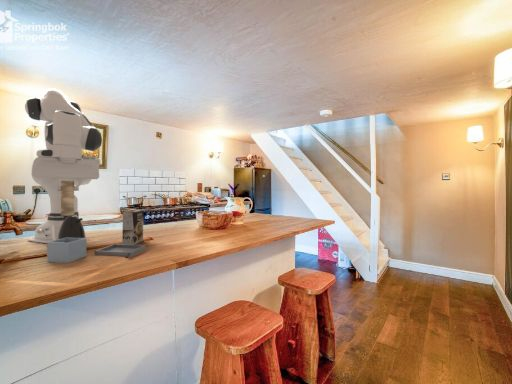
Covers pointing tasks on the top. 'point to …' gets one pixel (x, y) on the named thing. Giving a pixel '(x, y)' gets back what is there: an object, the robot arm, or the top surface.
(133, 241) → the coffee box
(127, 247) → the tray
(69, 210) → the dowel
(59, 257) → the slate blue storage bin
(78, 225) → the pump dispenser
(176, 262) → the top surface
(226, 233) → the top surface
